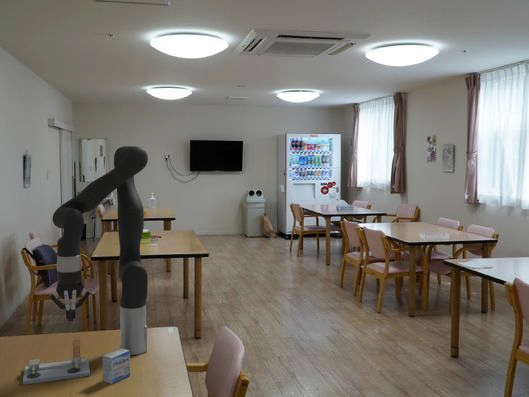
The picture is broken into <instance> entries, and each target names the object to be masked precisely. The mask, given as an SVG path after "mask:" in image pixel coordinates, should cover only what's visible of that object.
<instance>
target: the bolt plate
mask: <svg viewBox="0 0 529 397" xmlns="http://www.w3.org/2000/svg"><path fill="white" fill-rule="evenodd" d="M89 361H90V360H89V358H81V363H79V364H78V369H77V370H76V369H75V364H72V359H71V360H63V361H55V362H48V363H40V367H39V370H35V375H34V376H33V375H32V371H29V365H25V366H24V372H23V376H22V377H23V378H22V386H25V385H31V384H39V383H40V384H41V383H45V382H47V383H48V382H54V381H60V380H68V379H77V378H82V377H83V378H84V377H90V376H91V371H90V370H91V369H90V362H89Z"/></svg>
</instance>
